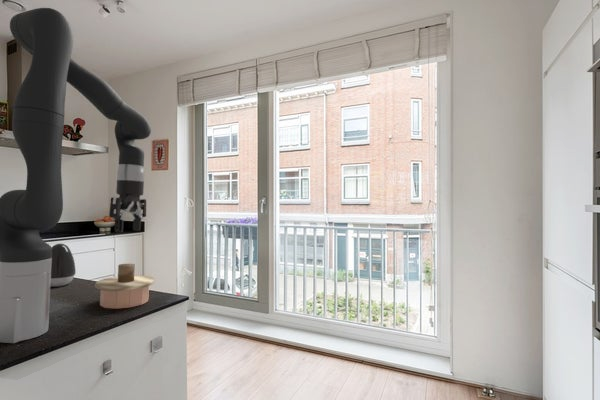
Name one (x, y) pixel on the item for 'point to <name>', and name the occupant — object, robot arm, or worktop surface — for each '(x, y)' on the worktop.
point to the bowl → (124, 298)
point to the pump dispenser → (62, 266)
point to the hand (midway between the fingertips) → (128, 231)
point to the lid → (124, 280)
